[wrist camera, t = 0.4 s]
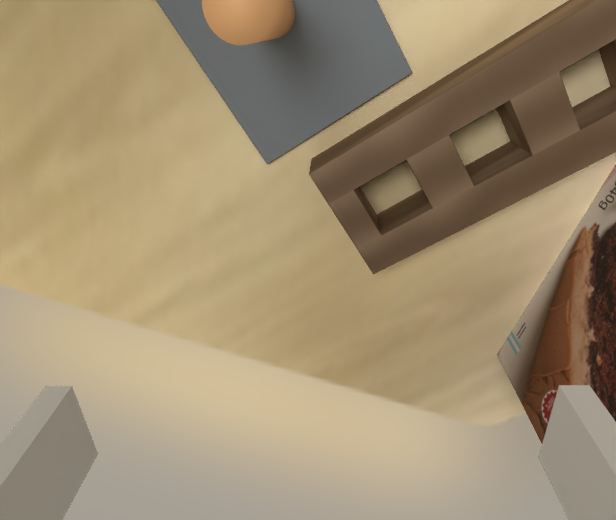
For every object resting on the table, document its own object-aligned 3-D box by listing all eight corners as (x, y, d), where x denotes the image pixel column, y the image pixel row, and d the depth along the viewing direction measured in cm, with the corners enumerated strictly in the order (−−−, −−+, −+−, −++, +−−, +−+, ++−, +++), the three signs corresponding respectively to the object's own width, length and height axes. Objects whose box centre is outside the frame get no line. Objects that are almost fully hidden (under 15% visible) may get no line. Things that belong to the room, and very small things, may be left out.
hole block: (311, 158, 34) (309, 174, 30) (614, -28, 28) (655, -36, 24) (369, 250, 37) (373, 274, 34) (651, 102, 31) (693, 112, 27)
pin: (240, 4, 29) (187, -8, 18) (278, -25, 28) (246, -57, 18) (266, 48, 30) (230, 59, 19) (304, 21, 29) (288, 17, 19)
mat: (123, -51, 28) (120, -52, 28) (280, -193, 25) (279, -196, 24) (267, 162, 34) (267, 164, 34) (411, 72, 31) (412, 72, 30)
